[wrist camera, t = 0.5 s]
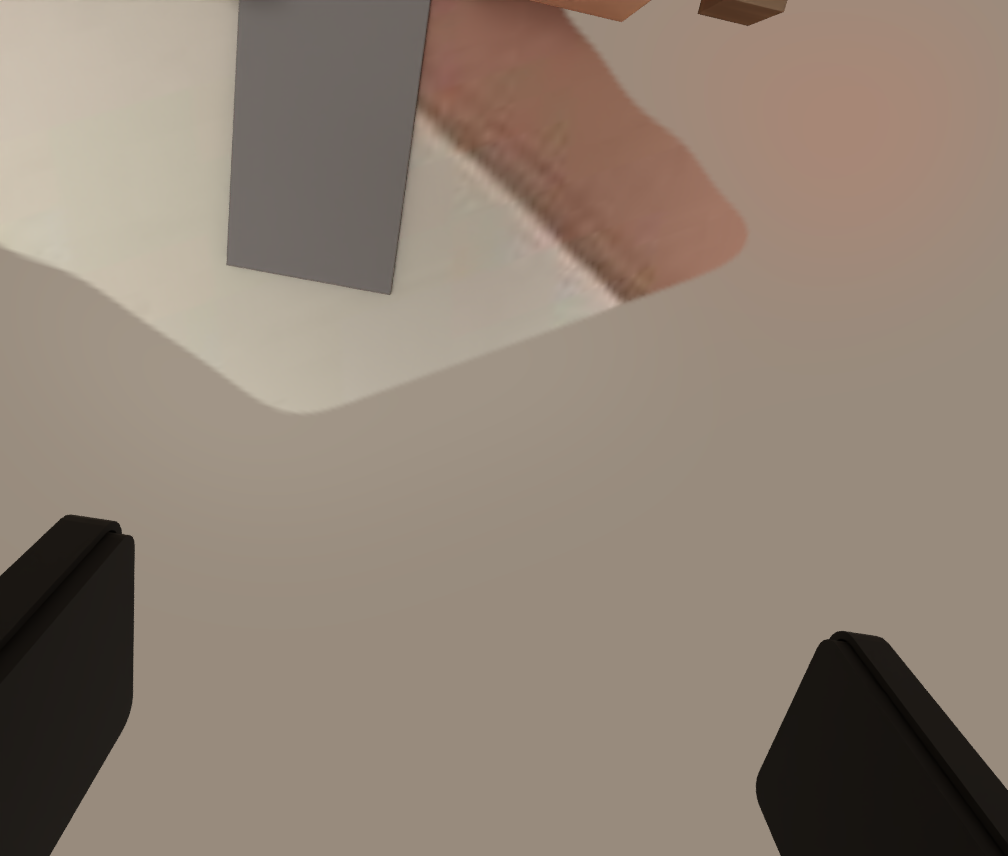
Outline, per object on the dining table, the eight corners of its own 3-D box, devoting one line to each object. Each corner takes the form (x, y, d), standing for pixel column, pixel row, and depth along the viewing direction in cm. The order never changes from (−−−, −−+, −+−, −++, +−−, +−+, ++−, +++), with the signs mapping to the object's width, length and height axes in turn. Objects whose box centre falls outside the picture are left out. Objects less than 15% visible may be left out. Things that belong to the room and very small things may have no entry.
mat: (255, -246, 28) (251, -253, 27) (457, -193, 29) (456, -198, 28) (229, 263, 35) (226, 264, 35) (390, 292, 36) (389, 295, 35)
